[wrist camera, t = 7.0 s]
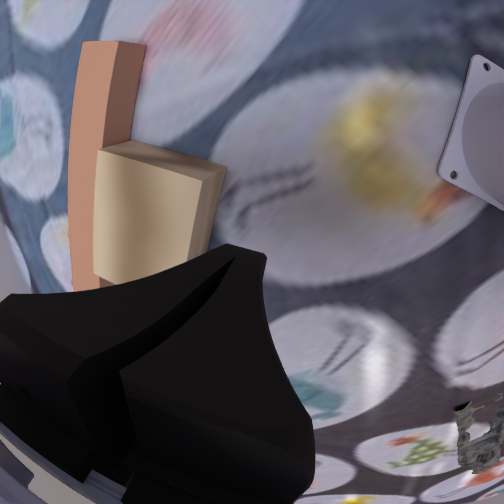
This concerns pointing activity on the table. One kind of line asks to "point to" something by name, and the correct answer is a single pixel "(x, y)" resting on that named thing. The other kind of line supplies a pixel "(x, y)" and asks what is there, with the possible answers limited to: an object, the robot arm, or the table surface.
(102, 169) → the beech block
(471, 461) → the driftwood
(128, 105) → the terracotta batten
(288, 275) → the table surface
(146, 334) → the robot arm
